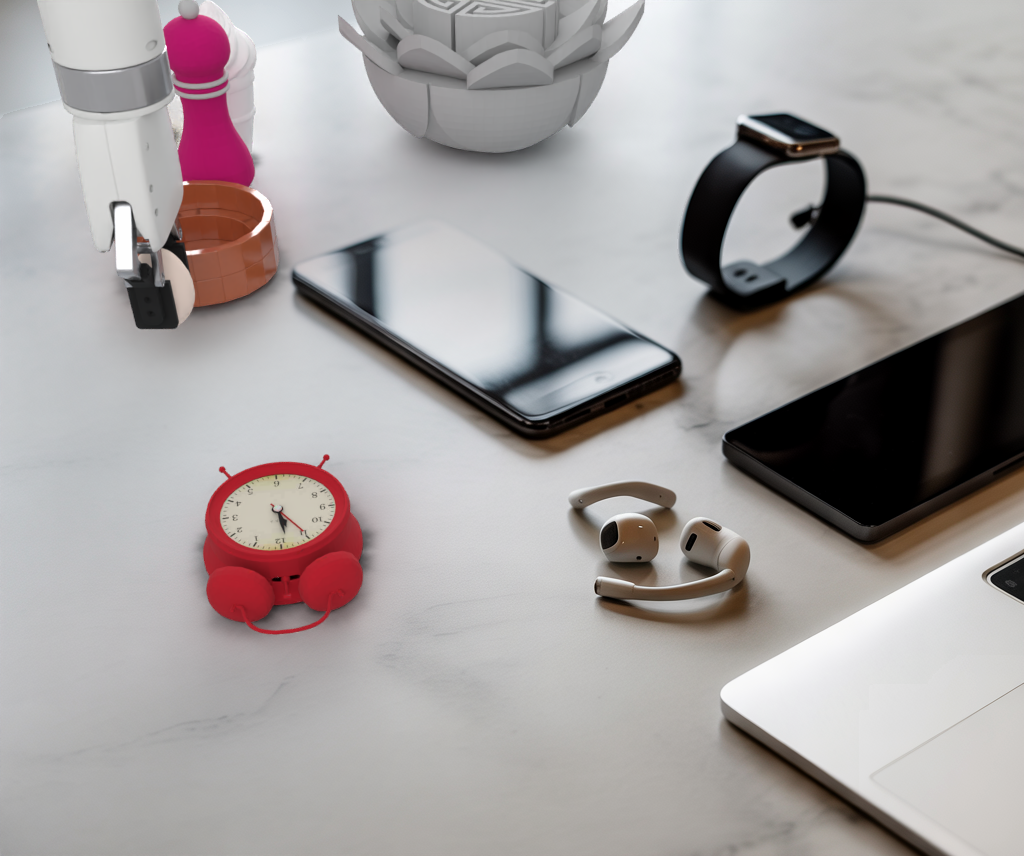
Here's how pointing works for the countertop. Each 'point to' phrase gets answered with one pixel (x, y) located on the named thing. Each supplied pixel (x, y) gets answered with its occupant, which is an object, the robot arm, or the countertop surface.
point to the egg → (176, 282)
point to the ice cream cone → (237, 72)
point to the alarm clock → (281, 543)
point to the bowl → (226, 239)
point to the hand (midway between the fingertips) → (165, 305)
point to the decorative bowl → (487, 65)
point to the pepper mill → (205, 99)
